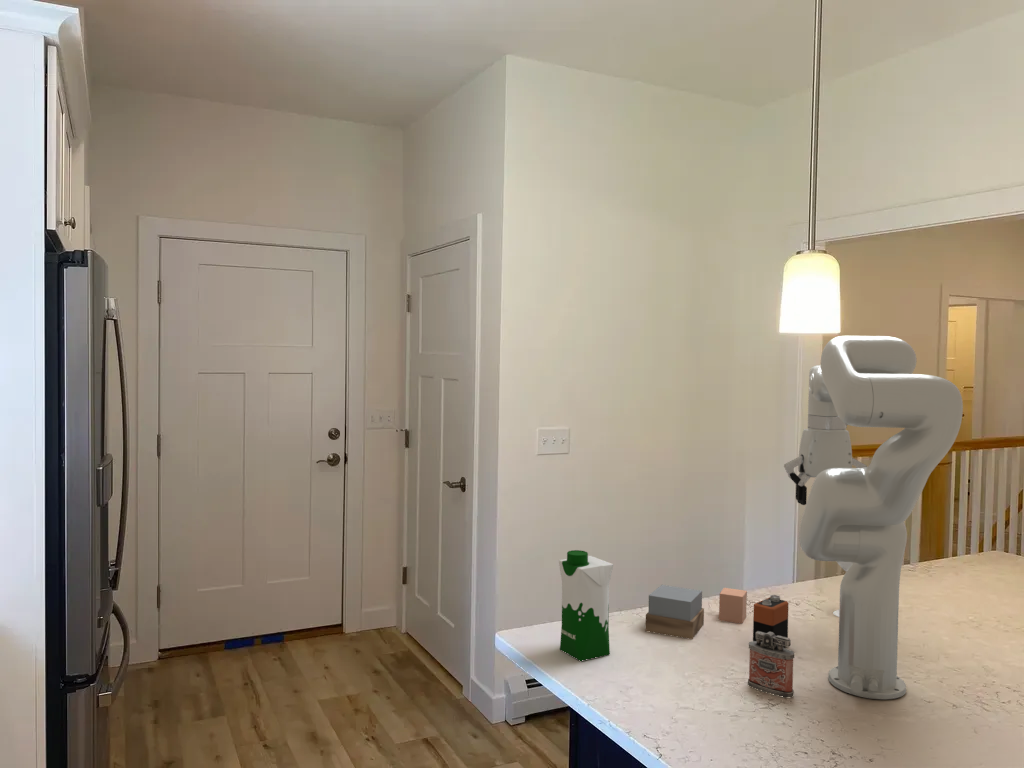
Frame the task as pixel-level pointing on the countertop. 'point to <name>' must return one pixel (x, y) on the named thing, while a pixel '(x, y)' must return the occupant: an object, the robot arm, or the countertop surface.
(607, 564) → the milk carton
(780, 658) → the lighter
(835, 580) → the countertop surface
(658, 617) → the tower base
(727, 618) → the pillar block
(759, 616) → the battery
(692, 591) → the tower top
